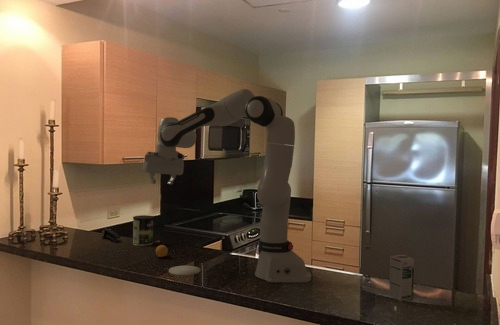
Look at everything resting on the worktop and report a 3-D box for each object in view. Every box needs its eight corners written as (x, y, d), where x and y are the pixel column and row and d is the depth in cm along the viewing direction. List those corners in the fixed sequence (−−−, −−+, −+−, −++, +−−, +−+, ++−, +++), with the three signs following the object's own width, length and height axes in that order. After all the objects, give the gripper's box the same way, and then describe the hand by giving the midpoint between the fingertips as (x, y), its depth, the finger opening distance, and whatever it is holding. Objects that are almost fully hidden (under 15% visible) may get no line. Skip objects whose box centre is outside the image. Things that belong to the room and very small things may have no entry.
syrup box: (400, 301, 138) (402, 259, 138) (388, 295, 144) (390, 255, 143) (413, 299, 141) (415, 257, 140) (400, 293, 146) (402, 253, 146)
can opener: (99, 237, 223) (99, 227, 223) (111, 236, 227) (111, 226, 227) (111, 244, 209) (111, 233, 209) (124, 242, 214) (124, 231, 214)
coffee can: (156, 242, 215) (156, 215, 215) (147, 246, 205) (148, 218, 205) (138, 240, 217) (138, 214, 217) (128, 245, 207) (129, 217, 207)
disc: (203, 267, 172) (203, 266, 172) (196, 276, 159) (196, 275, 159) (174, 265, 174) (174, 264, 174) (164, 274, 161) (164, 273, 161)
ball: (169, 255, 189) (169, 244, 189) (165, 258, 183) (165, 246, 183) (157, 255, 189) (158, 243, 189) (153, 258, 184) (153, 246, 184)
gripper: (150, 151, 173) (146, 183, 173) (187, 156, 188) (183, 185, 188) (141, 150, 177) (137, 182, 177) (178, 155, 192) (175, 184, 192)
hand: (161, 183), depth 183 cm, fingers open, 8 cm apart
